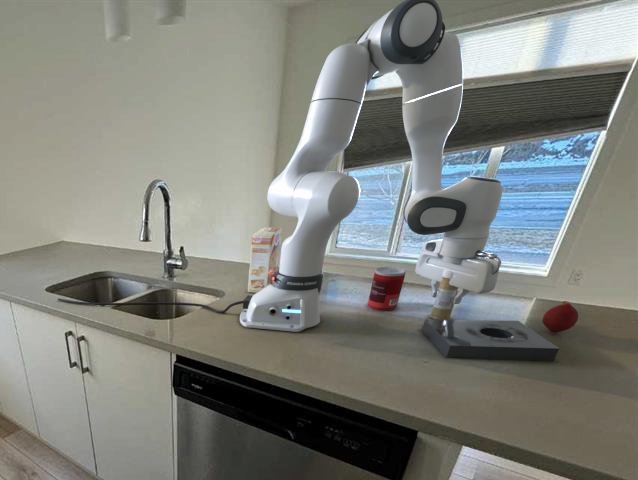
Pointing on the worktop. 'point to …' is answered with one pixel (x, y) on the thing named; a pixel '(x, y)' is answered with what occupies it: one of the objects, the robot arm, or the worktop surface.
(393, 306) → the canned food
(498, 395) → the worktop surface
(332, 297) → the worktop surface
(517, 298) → the worktop surface
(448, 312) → the sprinkles bottle
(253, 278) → the coffeecake box
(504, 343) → the dark grey slab holder
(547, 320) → the onion
